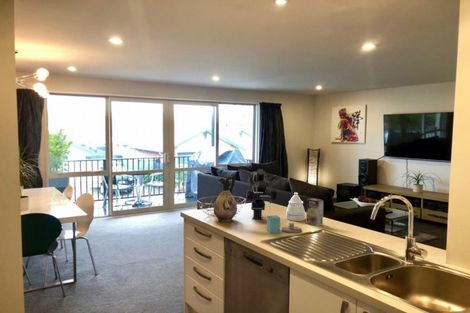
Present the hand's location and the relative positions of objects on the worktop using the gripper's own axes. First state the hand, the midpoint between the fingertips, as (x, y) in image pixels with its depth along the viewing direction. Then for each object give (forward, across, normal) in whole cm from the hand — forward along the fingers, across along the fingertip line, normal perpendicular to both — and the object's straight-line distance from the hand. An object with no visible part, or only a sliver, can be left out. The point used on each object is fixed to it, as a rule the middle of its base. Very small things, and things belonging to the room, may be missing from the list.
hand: (263, 203), depth 209 cm
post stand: (+12, +17, +11) cm, 23 cm away
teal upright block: (+14, +5, +10) cm, 18 cm away
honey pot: (-15, +26, +26) cm, 40 cm away
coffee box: (-1, +35, +19) cm, 40 cm away
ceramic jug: (-10, -21, +24) cm, 34 cm away
